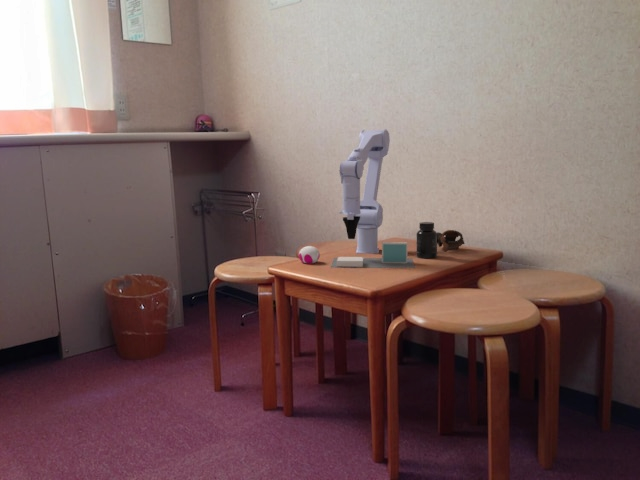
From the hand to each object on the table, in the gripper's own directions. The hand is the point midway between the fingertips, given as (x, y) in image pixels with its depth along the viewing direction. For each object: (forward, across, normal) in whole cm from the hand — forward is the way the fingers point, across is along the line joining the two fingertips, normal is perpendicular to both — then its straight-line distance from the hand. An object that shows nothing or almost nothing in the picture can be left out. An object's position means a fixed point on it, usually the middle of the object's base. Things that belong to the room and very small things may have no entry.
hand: (351, 238), depth 187 cm
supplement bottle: (+8, -5, +25) cm, 27 cm away
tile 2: (+7, +5, +14) cm, 16 cm away
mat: (+7, +6, +7) cm, 12 cm away
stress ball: (+8, +6, -14) cm, 17 cm away
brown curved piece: (+8, -21, +34) cm, 41 cm away
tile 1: (+6, +6, 0) cm, 8 cm away
